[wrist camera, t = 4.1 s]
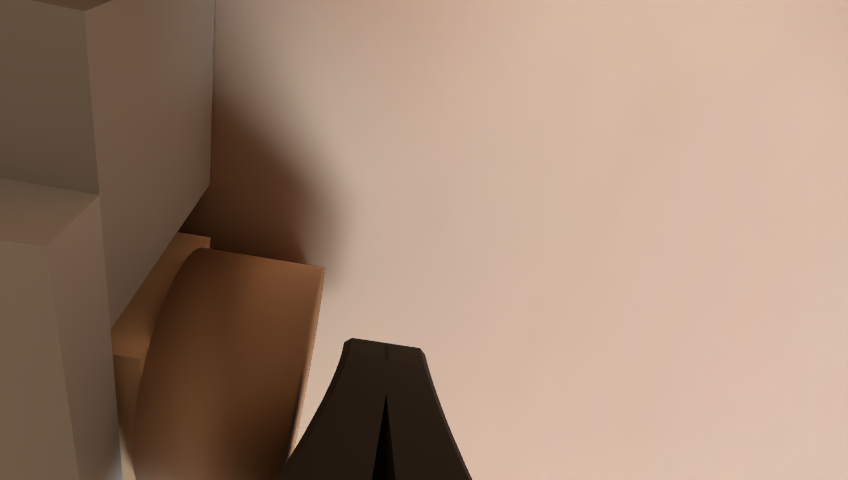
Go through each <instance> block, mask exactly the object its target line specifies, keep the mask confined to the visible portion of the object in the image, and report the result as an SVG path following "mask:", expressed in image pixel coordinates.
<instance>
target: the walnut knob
mask: <svg viewBox="0 0 848 480" xmlns="http://www.w3.org/2000/svg"><path fill="white" fill-rule="evenodd" d="M323 282H324V267H318V266H312V265H306V264H300V263H294V262H287V261H281V260H275V259H269V258H263V257H257V256H251V255H245V254H239V253H233V252H227V251H221V250H215V249H210V237H205V236H199V235H193V234H187V233H181V232H177V233H176V235H175V236H174V238H173V239H172V240H171V242H170V243H169V245H168V246H167V248H166V249H165V251H164V252H163V254H162V255H161V257H160V258H159V260H158V261H157V262H156V264H155V265H154V267H153V268H152V270H151V271H150V273H149V274H148V276H147V277H146V279H145V280H144V281H143V283H142V284H141V286H140V287H139V289H138V290H137V292H136V293H135V295H134V296H133V298H132V299H131V301H130V302H129V303H128V305H127V306H126V308H125V309H124V311H123V312H122V314H121V315H120V317H119V318H118V320H117V321H116V322H115V324H114V325H113V327H112V328H111V342H112V354H113V367H114V379H115V391H116V403H117V415H118V427H119V439H120V451H121V463H122V475H123V480H275V479H276V478H277V476H278V475H279V473H280V471H281V470H282V468H283V467H284V465H285V464H286V462H287V460H288V459H289V457H290V456H291V454H292V453H293V451H294V448H295V443H296V438H297V433H298V428H299V423H300V418H301V413H302V408H303V403H304V397H305V392H306V387H307V381H308V376H309V370H310V365H311V359H312V353H313V348H314V342H315V336H316V330H317V324H318V317H319V311H320V304H321V297H322V290H323Z"/></svg>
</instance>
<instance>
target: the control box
mask: <svg viewBox="0 0 848 480" xmlns="http://www.w3.org/2000/svg"><path fill="white" fill-rule="evenodd" d="M214 17H215V0H0V480H123V475H122V463H121V451H120V439H119V427H118V415H117V403H116V391H115V379H114V367H113V354H112V342H111V328H112V327H113V325H114V324H115V322H116V321H117V320H118V318H119V317H120V315H121V314H122V312H123V311H124V309H125V308H126V306H127V305H128V303H129V302H130V301H131V299H132V298H133V296H134V295H135V293H136V292H137V290H138V289H139V287H140V286H141V284H142V283H143V281H144V280H145V279H146V277H147V276H148V274H149V273H150V271H151V270H152V268H153V267H154V265H155V264H156V262H157V261H158V260H159V258H160V257H161V255H162V254H163V252H164V251H165V249H166V248H167V246H168V245H169V243H170V242H171V240H172V239H173V238H174V236H175V235H176V233H177V232H178V230H179V229H180V227H181V226H182V224H183V223H184V221H185V220H186V219H187V217H188V216H189V214H190V213H191V211H192V210H193V208H194V207H195V205H196V204H197V202H198V201H199V199H200V198H201V197H202V195H203V194H204V192H205V191H206V189H207V188H208V186H209V185H210V170H211V132H212V94H213V56H214Z"/></svg>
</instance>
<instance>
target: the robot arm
mask: <svg viewBox="0 0 848 480" xmlns="http://www.w3.org/2000/svg"><path fill="white" fill-rule="evenodd" d="M275 480H472V478H471V476H470V474H469V472H468V470H467V467H466V465H465V463H464V461H463V458H462V456H461V454H460V451H459V449H458V447H457V444H456V442H455V440H454V437H453V435H452V433H451V430H450V428H449V425H448V423H447V420H446V418H445V415H444V413H443V410H442V407H441V404H440V402H439V399H438V396H437V393H436V390H435V387H434V384H433V381H432V378H431V375H430V372H429V368H428V365H427V361H426V357H425V354H424V353H423V352H422V350H421V349H420V348H415V347H408V346H401V345H395V344H388V343H382V342H375V341H369V340H362V339H355V338H351V339H349V340H348V341H346V342H344V346H343V351H342V355H341V358H340V361H339V364H338V366H337V369H336V372H335V374H334V376H333V379H332V381H331V383H330V385H329V387H328V389H327V392H326V394H325V396H324V398H323V400H322V402H321V404H320V405H319V407H318V409H317V411H316V413H315V415H314V416H313V418H312V420H311V422H310V424H309V426H308V427H307V429H306V431H305V433H304V435H303V436H302V438H301V440H300V441H299V443H298V445H297V446H296V448H295V449H294V451H293V453H292V454H291V456H290V457H289V459H288V460H287V462H286V464H285V465H284V467H283V468H282V470H281V471H280V473H279V475H278V476H277V478H276V479H275Z"/></svg>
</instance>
